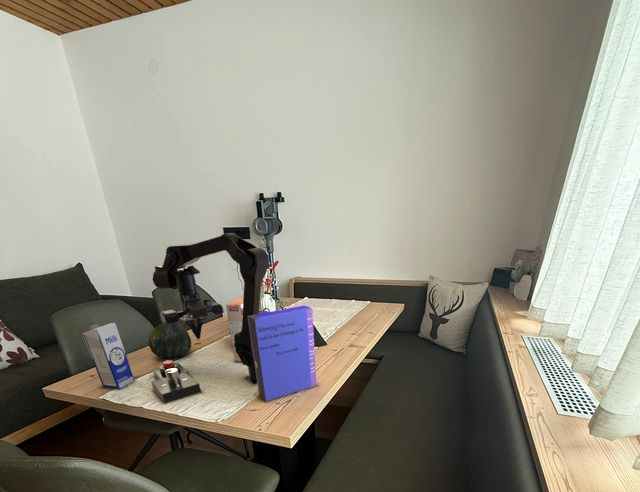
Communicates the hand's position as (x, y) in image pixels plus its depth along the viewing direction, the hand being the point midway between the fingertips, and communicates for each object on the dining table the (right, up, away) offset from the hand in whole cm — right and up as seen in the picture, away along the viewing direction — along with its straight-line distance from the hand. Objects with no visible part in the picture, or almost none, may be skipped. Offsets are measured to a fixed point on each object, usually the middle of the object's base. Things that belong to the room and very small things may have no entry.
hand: (198, 338), depth 119 cm
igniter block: (-10, -12, +3) cm, 16 cm away
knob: (-4, -15, -8) cm, 18 cm away
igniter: (-10, -9, +2) cm, 14 cm away
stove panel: (-4, -18, -7) cm, 20 cm away
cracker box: (+13, -3, +19) cm, 23 cm away
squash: (-17, -2, +22) cm, 28 cm away
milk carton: (-26, -15, 0) cm, 30 cm away
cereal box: (+31, -18, -9) cm, 37 cm away
